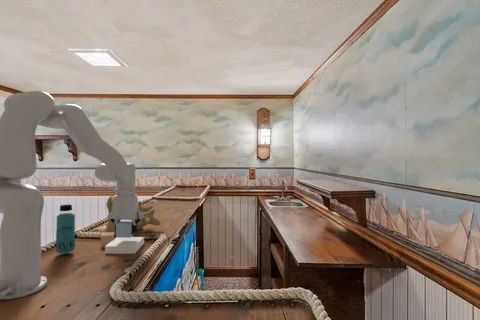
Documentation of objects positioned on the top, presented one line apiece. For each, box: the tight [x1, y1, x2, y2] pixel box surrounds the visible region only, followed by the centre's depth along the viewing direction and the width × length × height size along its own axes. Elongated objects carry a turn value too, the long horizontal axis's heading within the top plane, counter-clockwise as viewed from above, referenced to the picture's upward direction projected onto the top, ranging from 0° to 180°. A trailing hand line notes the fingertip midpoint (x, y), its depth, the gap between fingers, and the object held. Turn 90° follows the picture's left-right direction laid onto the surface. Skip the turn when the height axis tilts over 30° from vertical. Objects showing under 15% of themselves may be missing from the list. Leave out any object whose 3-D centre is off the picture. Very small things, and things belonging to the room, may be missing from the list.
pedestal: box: [104, 236, 145, 255], centre depth 115 cm, size 12×12×3 cm
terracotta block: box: [100, 232, 115, 248], centre depth 119 cm, size 5×5×5 cm
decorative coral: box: [105, 195, 161, 234], centre depth 138 cm, size 26×22×25 cm
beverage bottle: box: [55, 204, 76, 255], centre depth 107 cm, size 6×7×20 cm
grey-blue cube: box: [115, 220, 134, 238], centre depth 115 cm, size 6×6×6 cm
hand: (125, 233), depth 115 cm, fingers closed on grey-blue cube, 6 cm apart
